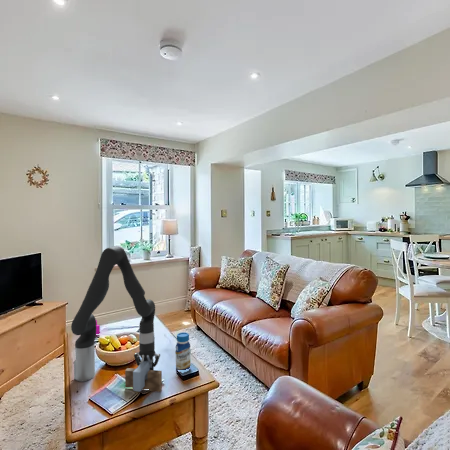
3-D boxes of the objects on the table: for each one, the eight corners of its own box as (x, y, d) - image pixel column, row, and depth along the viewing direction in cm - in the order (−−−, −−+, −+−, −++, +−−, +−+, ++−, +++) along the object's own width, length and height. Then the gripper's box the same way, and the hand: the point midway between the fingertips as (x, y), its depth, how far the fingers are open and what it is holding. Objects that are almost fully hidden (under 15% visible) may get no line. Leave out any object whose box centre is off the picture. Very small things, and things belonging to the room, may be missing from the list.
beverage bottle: (190, 365, 164) (190, 331, 164) (191, 373, 156) (190, 336, 156) (175, 367, 163) (175, 332, 163) (175, 374, 155) (174, 337, 155)
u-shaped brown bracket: (125, 388, 142) (125, 370, 142) (127, 385, 145) (127, 368, 145) (159, 391, 139) (159, 373, 139) (161, 388, 142) (161, 370, 142)
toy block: (87, 331, 219) (87, 321, 219) (96, 329, 222) (96, 319, 222) (90, 337, 206) (90, 327, 206) (99, 335, 210) (99, 325, 210)
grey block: (133, 390, 135) (133, 371, 135) (146, 375, 149) (146, 357, 149) (140, 391, 135) (139, 372, 135) (152, 375, 149) (152, 358, 148)
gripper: (130, 342, 144) (130, 376, 144) (157, 344, 141) (157, 378, 142) (137, 336, 151) (137, 369, 151) (162, 337, 149) (163, 371, 149)
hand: (147, 373), depth 146 cm, fingers closed on grey block, 3 cm apart
